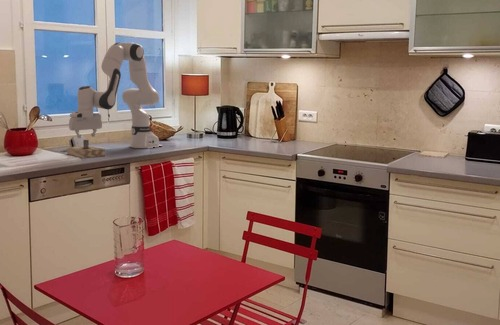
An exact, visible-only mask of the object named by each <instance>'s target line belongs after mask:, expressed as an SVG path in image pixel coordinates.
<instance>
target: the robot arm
mask: <svg viewBox="0 0 500 325" xmlns="http://www.w3.org/2000/svg"><path fill="white" fill-rule="evenodd" d="M144 52H145V51H144V48H143V46H142V45H141V44H139V43H135V42H127V41H126V42H121V41H120V42H115V43H113V44H112V45H111V46H110V47H109V48H108V50H107V51H106V53H105V55H104V57H103V60H102V62H101V66H100V67H101V70H102V72H103V73H104V74H105V75H107V76H108V77H109V80H108V85H107V88H106V90H105V91H99V90H98V91H97V90H96V89H93V87H92V86H89V85H84V86H81V87H79V88H78V90H77V110H76V111H73V112H71V113H70V114H69V117H70V118H69V120H68V121H69V122H68V129H69V130H70V131H74V132H75V134H76V136H77V138H81V136H82V135H81V134H80V131H85V130H92V131H93V132H92V133H90V134H91V135H90V136H91V137H92V138H93V137H96V132H97V130H100V129H102V128H103V123H102V115H101V114H100V113H94V108H97V109H104V110H107V111H108V110H109V111H110V110H112V108H114V107H115V105H116V100H117V93H118V88H119V86H120V81H121V76H122V74H121V66H122V65H123V62H124V61H128V70H129V71H128V72H129V78H130V81H131V83H132V84H134V85H136V86H137V88H132V87H131V88H128V89H127V88H126V89H125V90H124V91H123V92H122V95H121V98H122V101H123V103H124V104H125V105H127V106H128V108H129V110H130V113H131V138H130V139H131V140H130V143H129V144H130V145H129V148H133V149H154V148H153V147H155V148H160V147H159V146H162V147H163V144H160V139H159V137H158V136H157V135H156V134H155V133H154V132H152V131H154V129H155V128H154V126H150V115H149V114H148V112H147V111H145V110H144V109H143V106H148V107H151V106H156V105H157V104H158V103H159V102H160V93H159V92H158V91H157V90H155V89H154V87H153V86H152V85H151V83H150V80H149V77H148V72H147V61H146V58H145V55H144V54H145V53H144Z"/></svg>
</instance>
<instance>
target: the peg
mask: <svg viewBox="0 0 500 325" xmlns="http://www.w3.org/2000/svg"><path fill="white" fill-rule="evenodd" d="M89 143H90V140H89V139H86V140H83V149H89V145H90V144H89Z"/></svg>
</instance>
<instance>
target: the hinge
mask: <svg viewBox="0 0 500 325" xmlns="http://www.w3.org/2000/svg"><path fill="white" fill-rule="evenodd" d="M83 140H87V139H86V136H84V135H81V138H77V135H76V136H73V137H71V138H70V139H69V140H68V143H69V147H79V146H83ZM89 146H91V145H90V144H89Z"/></svg>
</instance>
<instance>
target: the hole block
mask: <svg viewBox="0 0 500 325" xmlns="http://www.w3.org/2000/svg"><path fill="white" fill-rule="evenodd" d="M105 150H106V149H105V148H101V147H95V146H91V145H90V146H89V149H83V146H79V147H70V146H67V152H66V153H67V155H71V156H74V157H78V158H83V159H86V158H97V157H104V156H105V155H106V154H105Z"/></svg>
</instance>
